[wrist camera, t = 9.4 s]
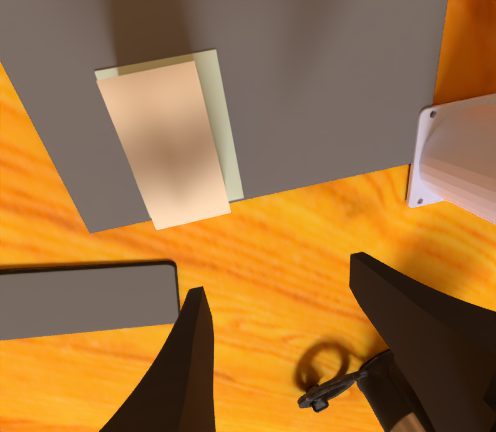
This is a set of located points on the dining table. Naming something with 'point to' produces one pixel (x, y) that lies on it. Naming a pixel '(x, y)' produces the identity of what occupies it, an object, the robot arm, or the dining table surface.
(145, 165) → the birch block
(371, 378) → the milk frother
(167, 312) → the smartphone
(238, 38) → the rubber mat
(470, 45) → the dining table surface
